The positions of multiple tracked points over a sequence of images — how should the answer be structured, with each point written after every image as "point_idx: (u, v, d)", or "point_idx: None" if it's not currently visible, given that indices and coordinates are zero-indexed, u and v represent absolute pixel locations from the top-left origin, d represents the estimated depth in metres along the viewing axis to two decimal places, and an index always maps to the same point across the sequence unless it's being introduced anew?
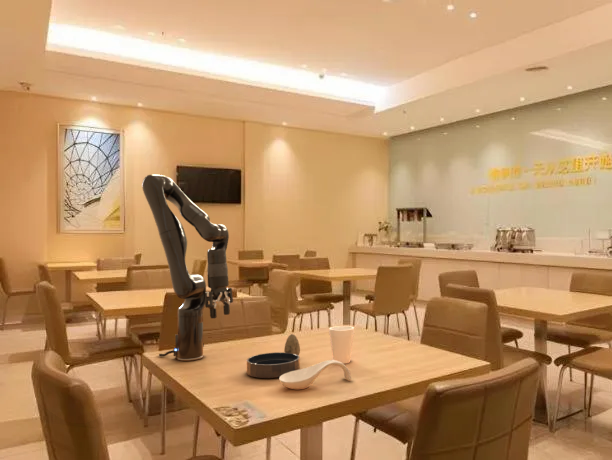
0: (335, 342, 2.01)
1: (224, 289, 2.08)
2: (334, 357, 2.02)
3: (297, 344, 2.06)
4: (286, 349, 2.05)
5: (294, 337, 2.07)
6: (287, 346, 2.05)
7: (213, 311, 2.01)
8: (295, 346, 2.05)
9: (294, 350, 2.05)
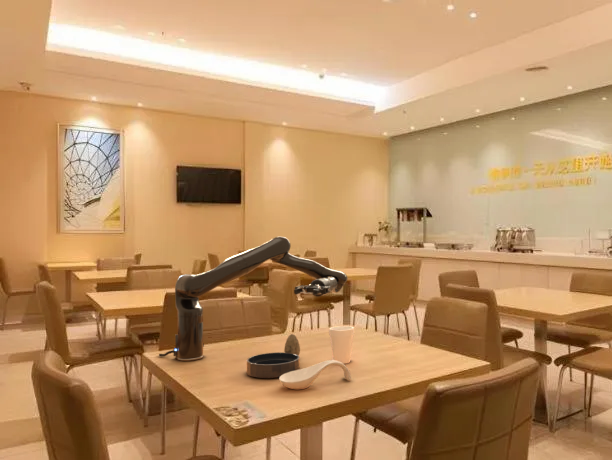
0: (335, 342, 2.01)
1: None
2: (334, 357, 2.02)
3: (297, 344, 2.06)
4: (286, 349, 2.05)
5: (294, 337, 2.07)
6: (287, 346, 2.05)
7: (318, 293, 2.18)
8: (295, 346, 2.05)
9: (294, 350, 2.05)
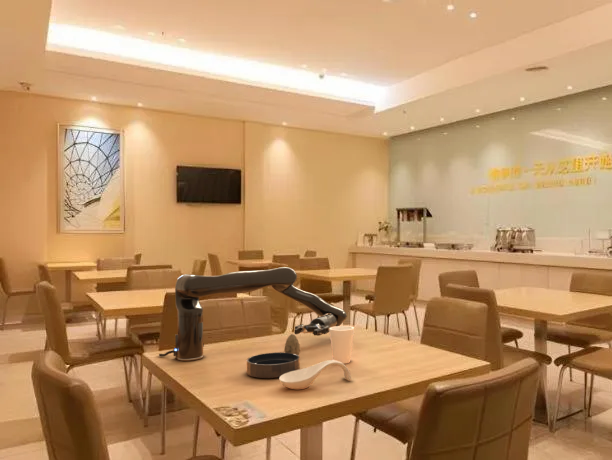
0: (335, 342, 2.01)
1: None
2: (334, 357, 2.02)
3: (297, 344, 2.06)
4: (286, 349, 2.05)
5: (294, 337, 2.07)
6: (287, 346, 2.05)
7: None
8: (295, 346, 2.05)
9: (294, 350, 2.05)
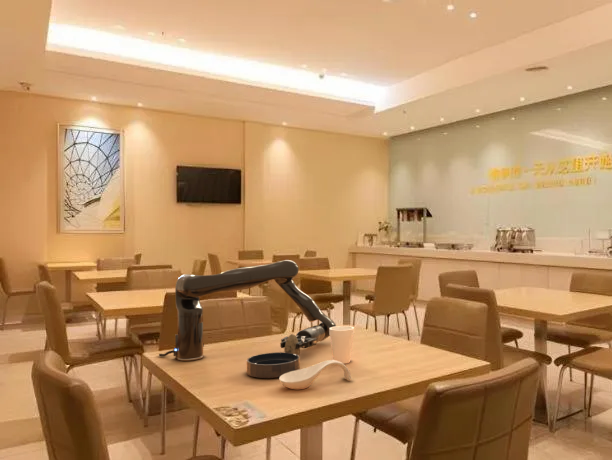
0: (335, 342, 2.01)
1: None
2: (334, 357, 2.02)
3: None
4: (286, 349, 2.05)
5: (294, 337, 2.07)
6: (287, 346, 2.05)
7: (301, 346, 2.07)
8: (295, 346, 2.05)
9: (294, 350, 2.05)
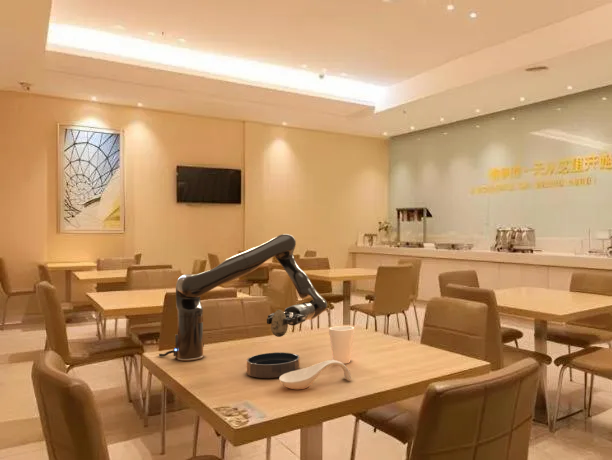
0: (335, 342, 2.01)
1: None
2: (334, 357, 2.02)
3: None
4: (273, 325, 1.92)
5: (281, 312, 1.94)
6: (274, 322, 1.92)
7: (289, 322, 1.94)
8: (282, 322, 1.93)
9: (281, 326, 1.92)
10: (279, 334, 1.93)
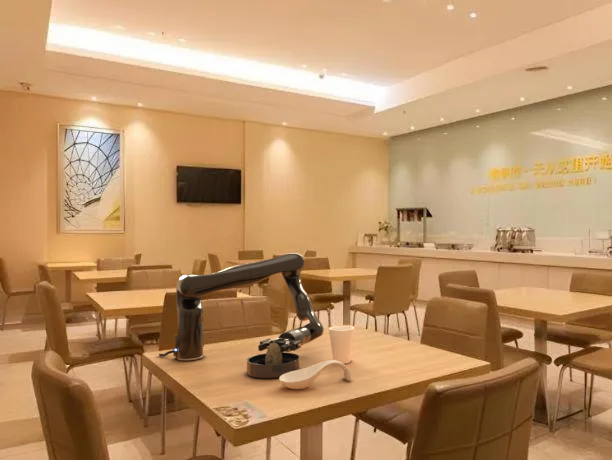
0: (335, 342, 2.01)
1: None
2: (334, 357, 2.02)
3: (279, 353, 1.89)
4: (267, 359, 1.87)
5: (276, 346, 1.89)
6: (268, 356, 1.87)
7: (286, 350, 1.89)
8: (277, 356, 1.88)
9: (275, 360, 1.87)
10: None
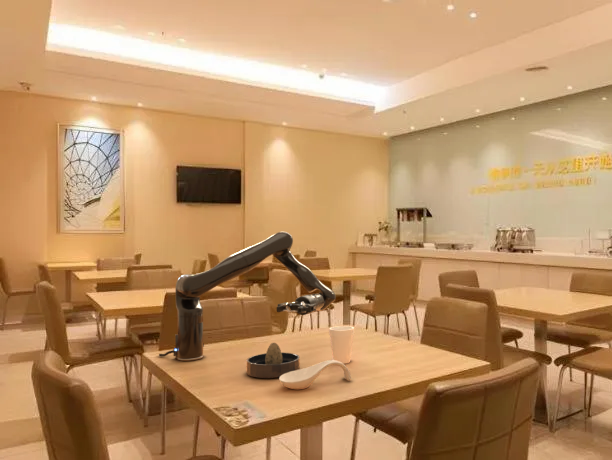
0: (335, 342, 2.01)
1: None
2: (334, 357, 2.02)
3: (279, 353, 1.89)
4: (267, 359, 1.87)
5: (276, 346, 1.89)
6: (268, 356, 1.87)
7: None
8: (277, 356, 1.88)
9: (275, 360, 1.87)
10: None
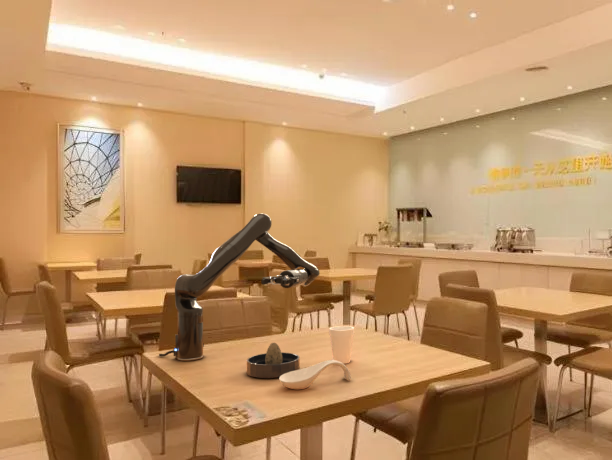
0: (335, 342, 2.01)
1: None
2: (334, 357, 2.02)
3: (279, 353, 1.89)
4: (267, 359, 1.87)
5: (276, 346, 1.89)
6: (268, 356, 1.87)
7: (286, 283, 2.13)
8: (277, 356, 1.88)
9: (275, 360, 1.87)
10: None
